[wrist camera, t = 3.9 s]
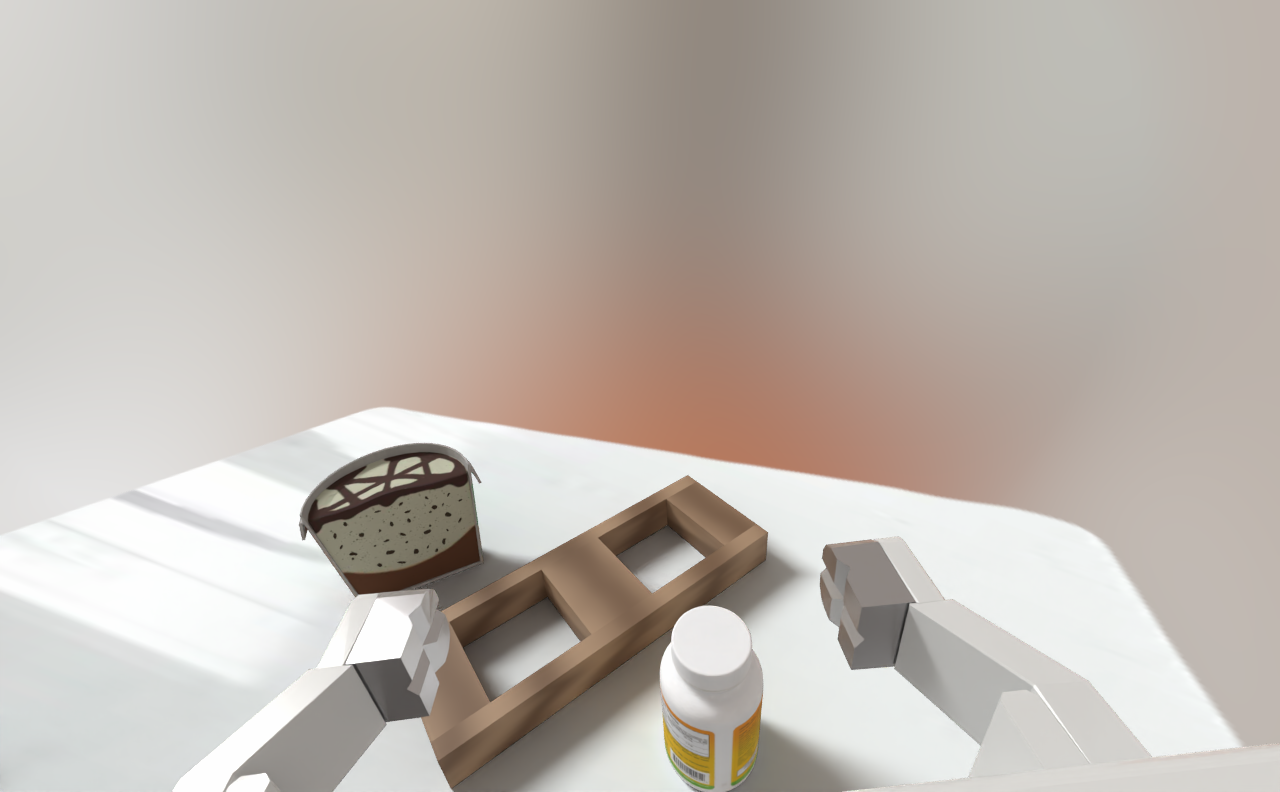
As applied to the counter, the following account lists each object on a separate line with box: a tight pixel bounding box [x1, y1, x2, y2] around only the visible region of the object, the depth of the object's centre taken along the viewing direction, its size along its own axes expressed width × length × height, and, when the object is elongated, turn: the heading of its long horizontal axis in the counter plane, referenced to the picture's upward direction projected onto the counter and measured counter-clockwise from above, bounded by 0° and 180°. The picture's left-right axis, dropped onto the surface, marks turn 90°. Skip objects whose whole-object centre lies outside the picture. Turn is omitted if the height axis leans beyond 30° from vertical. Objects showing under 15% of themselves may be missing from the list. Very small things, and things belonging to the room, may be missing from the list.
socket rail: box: [421, 475, 768, 789], centre depth 39 cm, size 26×9×3 cm, turn 127°
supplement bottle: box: [660, 605, 763, 792], centre depth 28 cm, size 5×5×10 cm
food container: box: [299, 443, 484, 597], centre depth 42 cm, size 12×6×10 cm, turn 116°
